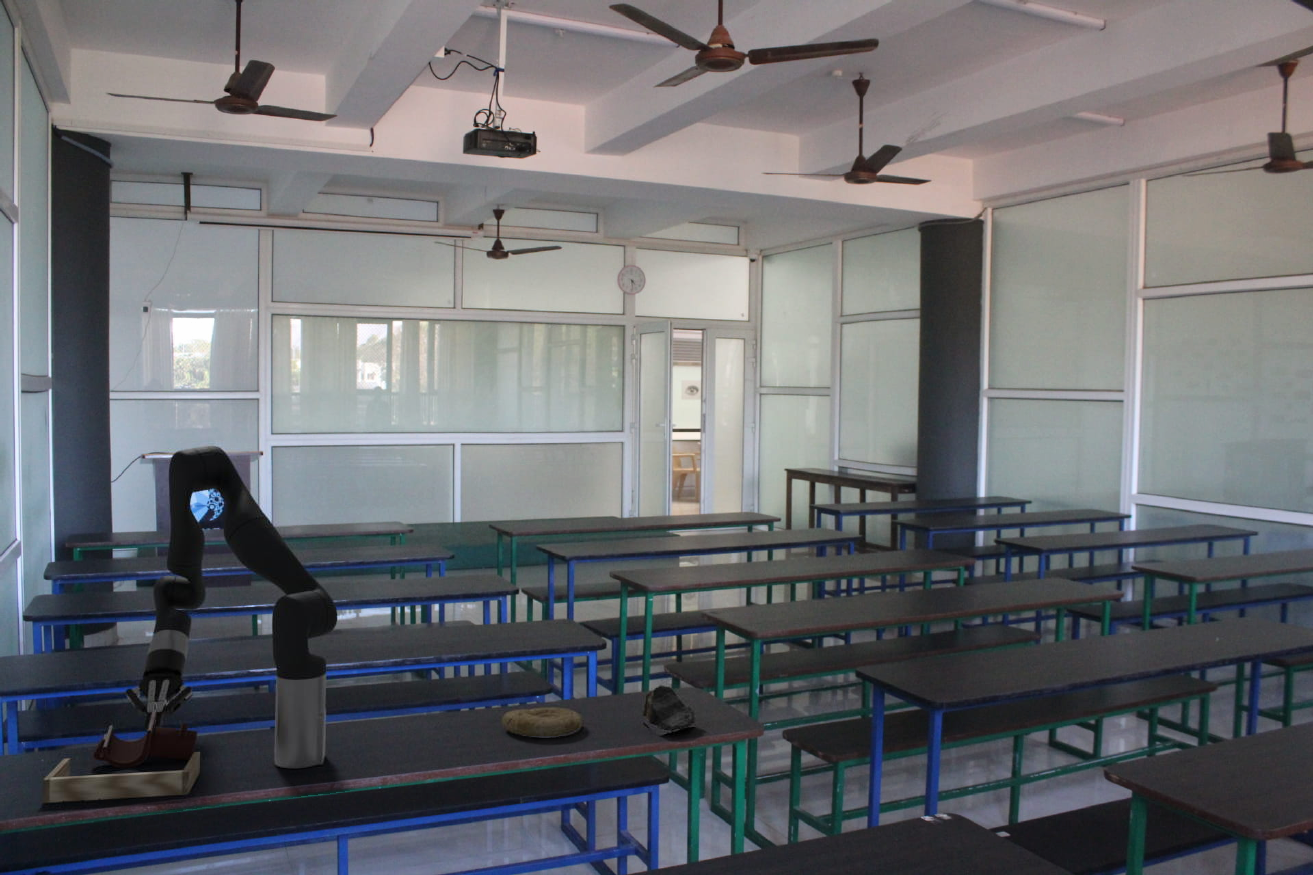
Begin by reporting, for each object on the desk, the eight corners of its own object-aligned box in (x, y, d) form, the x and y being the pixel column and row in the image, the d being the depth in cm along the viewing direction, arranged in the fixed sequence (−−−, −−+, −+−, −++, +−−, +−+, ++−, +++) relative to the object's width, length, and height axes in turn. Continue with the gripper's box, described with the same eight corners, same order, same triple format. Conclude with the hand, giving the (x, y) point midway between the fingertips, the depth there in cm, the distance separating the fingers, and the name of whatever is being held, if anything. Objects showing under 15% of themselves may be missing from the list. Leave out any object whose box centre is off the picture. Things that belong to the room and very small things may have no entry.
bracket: (96, 746, 194) (106, 704, 192) (190, 755, 201) (201, 714, 198) (89, 767, 189) (99, 724, 186) (186, 776, 196) (197, 735, 193)
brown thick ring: (546, 748, 210) (546, 727, 210) (495, 734, 219) (495, 713, 219) (597, 729, 224) (598, 709, 224) (547, 716, 233) (548, 696, 232)
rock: (636, 720, 231) (635, 681, 229) (680, 710, 235) (680, 671, 233) (660, 752, 218) (659, 711, 216) (706, 741, 222) (705, 701, 220)
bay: (199, 772, 189) (200, 751, 189) (187, 794, 179) (188, 771, 179) (63, 780, 184) (63, 758, 184) (43, 802, 173) (43, 779, 173)
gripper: (129, 648, 208) (111, 724, 196) (198, 646, 211) (185, 721, 199) (135, 667, 213) (118, 743, 201) (202, 665, 216) (190, 739, 205)
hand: (151, 732), depth 200 cm, fingers closed
